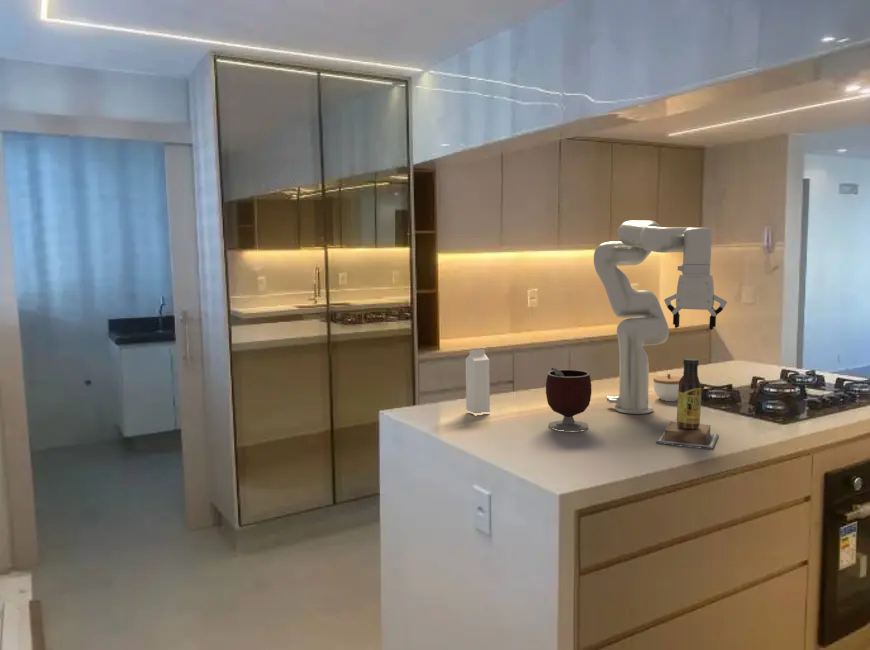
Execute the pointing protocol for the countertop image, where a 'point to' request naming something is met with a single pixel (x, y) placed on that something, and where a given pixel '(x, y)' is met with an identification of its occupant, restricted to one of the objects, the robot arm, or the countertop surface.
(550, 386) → the mate gourd
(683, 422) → the sauce bottle
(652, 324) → the robot arm
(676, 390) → the lidded jar
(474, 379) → the milk
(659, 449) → the countertop surface
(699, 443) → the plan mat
